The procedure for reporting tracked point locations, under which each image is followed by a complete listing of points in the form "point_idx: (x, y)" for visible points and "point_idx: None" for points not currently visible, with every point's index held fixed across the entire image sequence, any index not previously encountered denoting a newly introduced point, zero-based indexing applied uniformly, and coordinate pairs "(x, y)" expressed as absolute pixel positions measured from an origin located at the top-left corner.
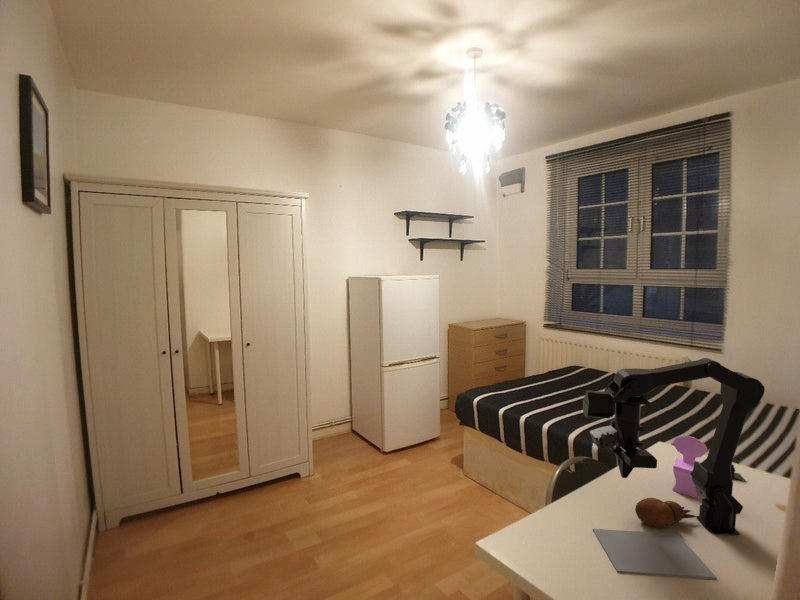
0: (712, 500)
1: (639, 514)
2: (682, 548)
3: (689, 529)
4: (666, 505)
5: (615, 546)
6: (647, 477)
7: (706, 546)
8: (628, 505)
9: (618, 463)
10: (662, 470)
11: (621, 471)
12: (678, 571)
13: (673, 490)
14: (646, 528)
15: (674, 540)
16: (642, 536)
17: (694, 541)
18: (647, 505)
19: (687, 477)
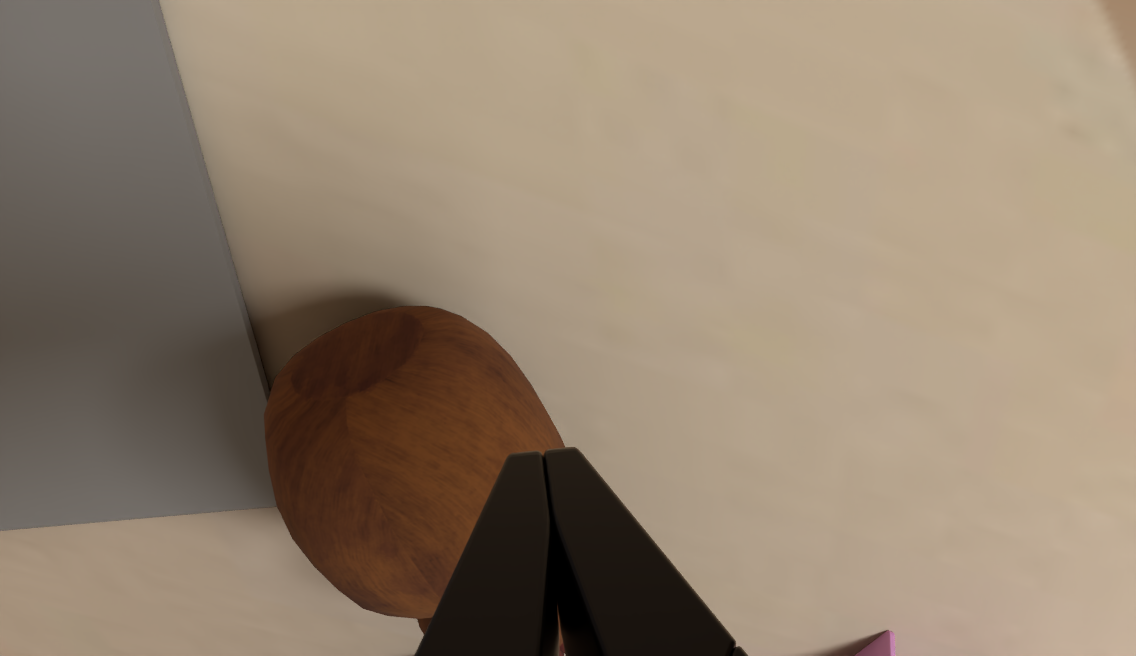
0: None
1: (377, 332)
2: (83, 472)
3: None
4: (404, 613)
5: None
6: (1078, 555)
7: (220, 600)
8: (699, 295)
9: (682, 651)
10: (1127, 652)
11: (519, 541)
12: None
13: (882, 636)
14: (332, 316)
15: (185, 457)
16: (136, 233)
17: (257, 561)
18: (343, 470)
19: None
